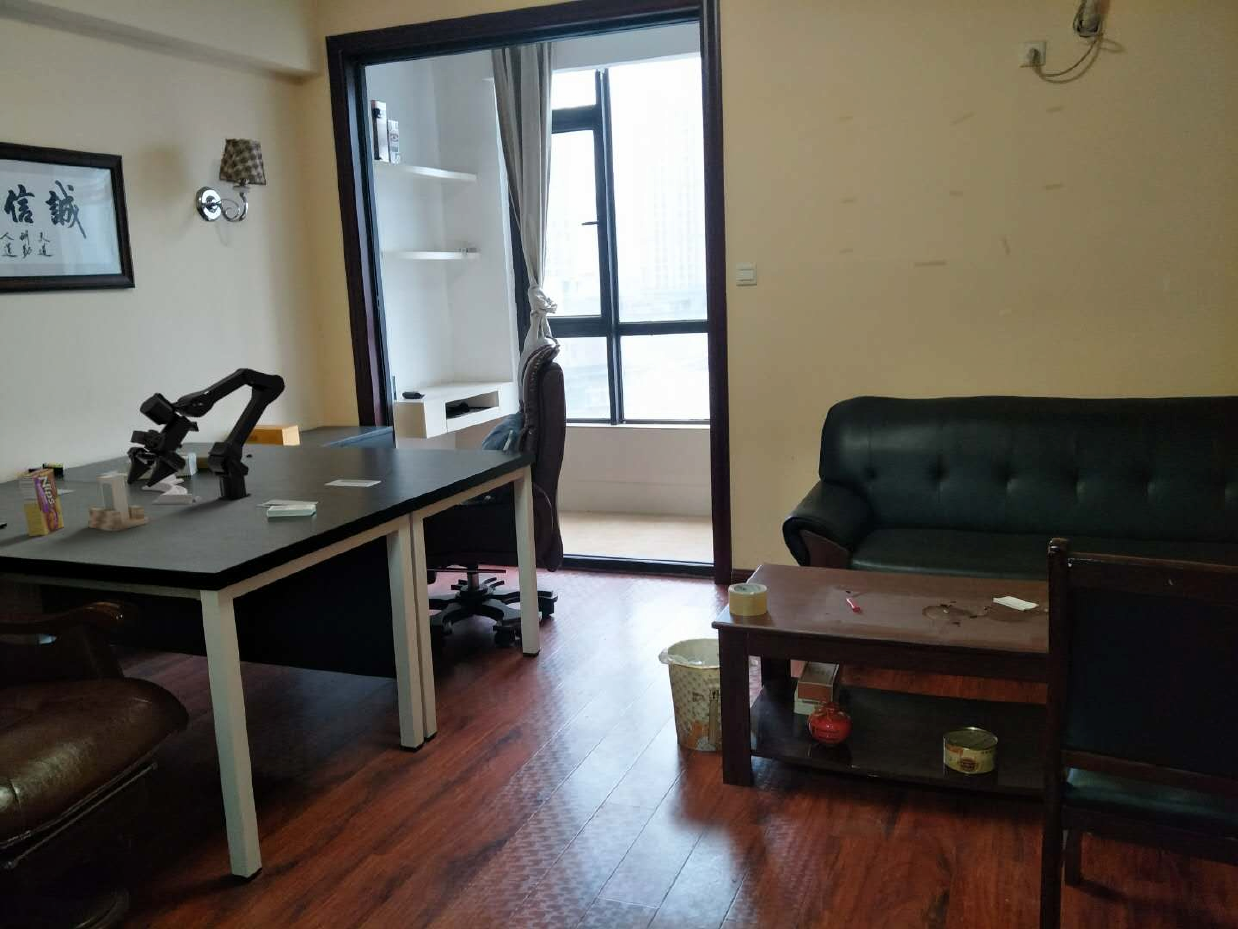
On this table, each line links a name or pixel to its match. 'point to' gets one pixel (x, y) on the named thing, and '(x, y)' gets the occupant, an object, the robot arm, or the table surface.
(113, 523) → the stand
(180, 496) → the molding
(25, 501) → the candy box
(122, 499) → the grey upright slab
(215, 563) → the table surface
